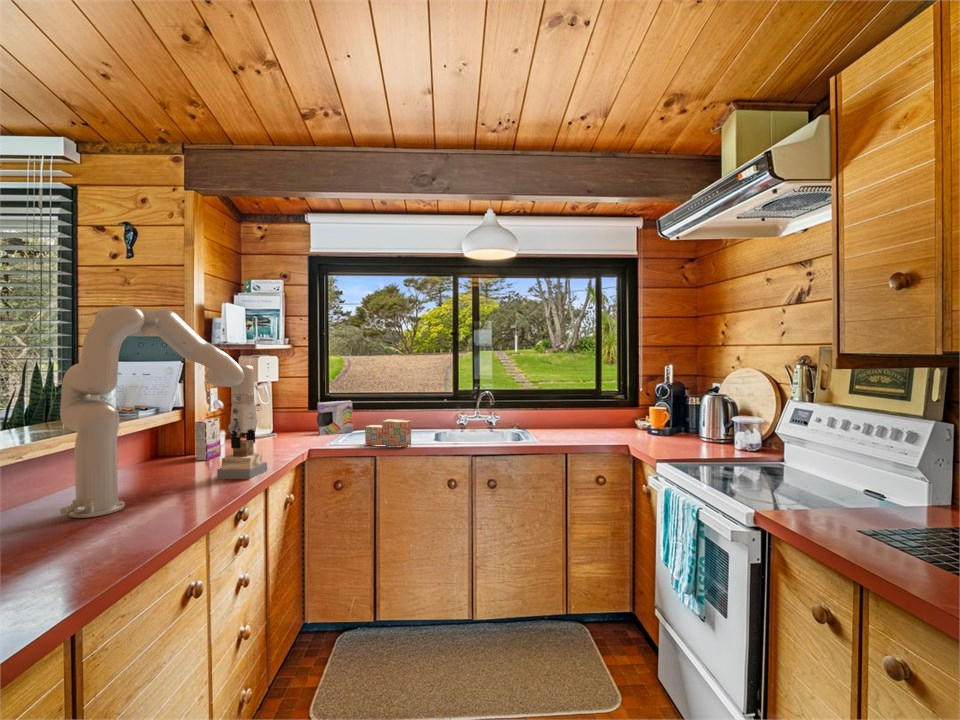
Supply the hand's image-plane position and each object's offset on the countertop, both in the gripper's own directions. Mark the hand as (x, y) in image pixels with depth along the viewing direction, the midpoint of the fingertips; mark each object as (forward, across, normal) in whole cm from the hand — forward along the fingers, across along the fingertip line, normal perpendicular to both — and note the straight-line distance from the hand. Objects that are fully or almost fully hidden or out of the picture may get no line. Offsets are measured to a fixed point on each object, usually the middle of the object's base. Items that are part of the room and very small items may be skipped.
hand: (243, 445), depth 179 cm
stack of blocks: (+11, +58, -39) cm, 70 cm away
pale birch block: (+7, 0, 0) cm, 8 cm away
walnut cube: (+4, 0, 0) cm, 4 cm away
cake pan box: (+11, +91, 0) cm, 92 cm away
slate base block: (+12, 0, 0) cm, 12 cm away
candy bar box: (+11, +28, +32) cm, 44 cm away
